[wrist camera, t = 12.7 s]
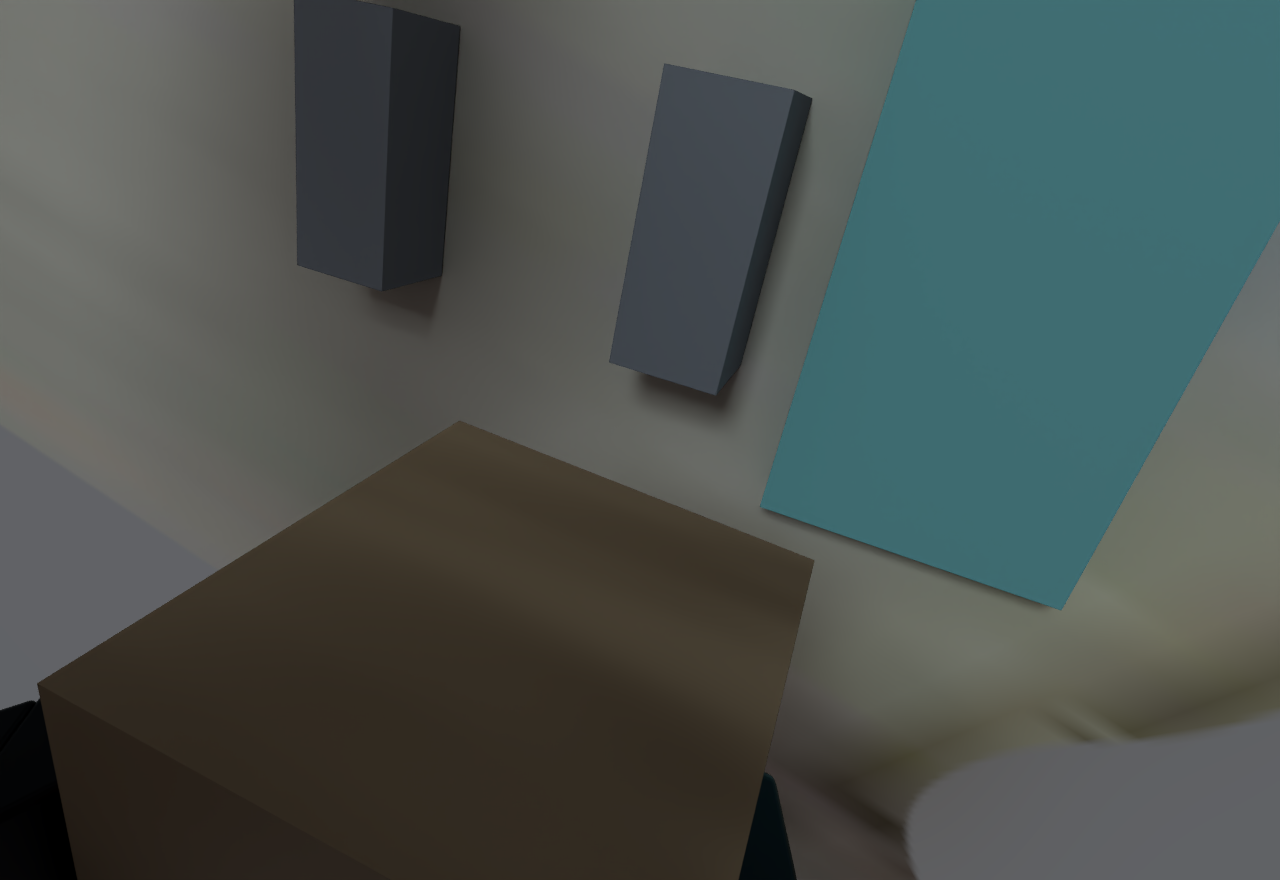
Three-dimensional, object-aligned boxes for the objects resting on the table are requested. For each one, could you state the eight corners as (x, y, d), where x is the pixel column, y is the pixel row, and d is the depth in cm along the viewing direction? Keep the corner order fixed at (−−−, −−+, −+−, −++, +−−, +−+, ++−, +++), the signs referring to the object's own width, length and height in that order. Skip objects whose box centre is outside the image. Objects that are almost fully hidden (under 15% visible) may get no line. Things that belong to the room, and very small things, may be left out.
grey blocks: (371, 8, 18) (293, -13, 15) (812, 98, 15) (794, 90, 13) (364, 252, 20) (297, 265, 18) (740, 365, 18) (715, 395, 16)
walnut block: (459, 420, 9) (36, 683, 5) (814, 560, 8) (697, 1052, 4) (406, 822, 13) (139, 1182, 8) (648, 951, 12) (490, 1433, 7)
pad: (938, -60, 14) (939, -75, 13) (1371, 4, 12) (1407, -8, 11) (767, 490, 19) (759, 506, 18) (1053, 586, 17) (1061, 610, 16)
